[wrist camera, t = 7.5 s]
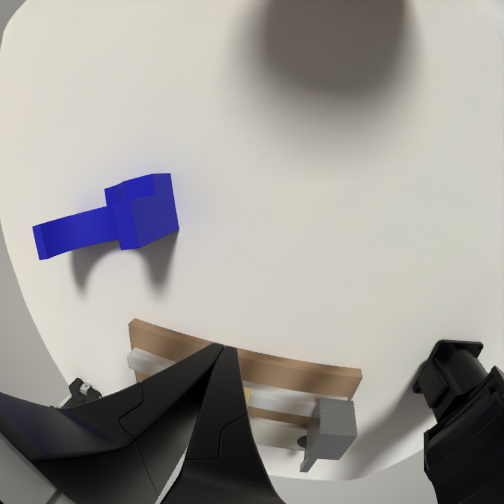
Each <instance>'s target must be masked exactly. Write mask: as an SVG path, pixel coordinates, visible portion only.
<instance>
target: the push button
mask: <svg viewBox="0 0 504 504" xmlns="http://www.w3.org/2000/svg"><path fill="white" fill-rule="evenodd" d="M69 390H70V393H71V394H70V393H69V394H68V396H67V397H66V398H65V399H64V400H63V401H62V402H61V403H60V404H59V405H58V406H57V407H56V408H69V407H73V406H77V405H80V404H83V403H86V402H90V401H93V400H96V399H99V398H101V394H100V392H98V391H96V390H95V389H93V388H92V387H90V385H89V384H87V383H84V382H82V380H81V379H80V378H76V379H75V380H74V381H73V382H72V383H71V384H70V385H69ZM50 407H53V406H50ZM53 408H55V407H53Z"/></svg>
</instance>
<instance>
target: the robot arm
mask: <svg viewBox="0 0 504 504" xmlns="http://www.w3.org/2000/svg"><path fill="white" fill-rule="evenodd" d="M442 344H443V345H442ZM441 345H442V346H441ZM482 349H483V344H482V343H481V342H470V341H455V340H440V341H439V342H438V343H437V345H436V347H435V349H434V351H433V353H432V355H431V357H430V359H429V361H428V363H427V365H426V366H425V368H424V370H423V372H422V373H421V375H420V377H419V379H418V380H417V382H416V384H415V385H414V387H413V392H414V393H416V394H422V393H423V394H424V396H425V399H426V401H427V404H428V406H429V408H432V410H433V413H434V415H435V418H436V421H437V424H436V425H435V426H433V427H432V428H431V429H430V430H429V429H428V430H427V431H426V432H425V433H424V471H425V473H426V475H427V476H428V478H429V480H430V481H431V482H432V484H433V486H434V489H435V493H436V497H437V502H438V504H504V373H503V372H502V371H501V370H500V369H499V368H498V367H497V366H494V367H493V368H492V369H491V372H490V373H489V374H488V373H487V372H486V370H485V369H484V367H483V366H482V364H481V363H480V362H479V360H478V359H477V358H478V356H479V354H480V352H481V350H482ZM188 444H189V445H188ZM187 446H188V449H187V452H186V455H185V459H184V462H183V465H182V468H181V471H180V473H179V475H178V477H177V478H176V480H175V482H174V483H173V485H172V486H171V488H170V489H169V491H168V492H167V494H166V495H165V497H164V498H163V500H162V501H161V503H160V504H286V503H284V501H283V500H282V499H281V498H280V497H279V496H278V494H277V493H276V491H275V489H274V487H273V485H272V483H271V481H270V479H269V477H268V474H267V472H266V469H265V467H264V465H263V462H262V460H261V457H260V455H259V452H258V449H257V447H256V444H255V441H254V438H253V434H252V429H251V425H250V420H249V416H248V410H247V404H246V398H245V392H244V387H243V381H242V375H241V369H240V362H239V356H238V350H237V348H235V347H231V346H224V345H223V344H219V343H215V342H214V343H211V344H209V345H208V346H206V347H204V348H202V349H201V350H199V351H197V352H195V353H193V354H191V355H190V356H188V357H186V358H184V359H182V360H180V361H179V362H177V363H175V364H173V365H171V366H169V367H167V368H165V369H164V370H162V371H160V372H158V373H156V374H154V375H152V376H150V377H148V378H146V379H144V380H142V381H141V382H138V383H136V384H134V385H132V386H130V387H128V388H125V389H123V390H121V391H119V392H116V393H113V394H111V395H108V396H105V397H102V398H99V399H96V400H93V401H90V402H86V403H83V404H80V405H77V406H73V407H69V408H53V407H48V406H44V405H40V404H36V403H33V402H29V401H26V400H22V399H19V398H15V397H12V396H9V395H7V394H4V393H1V392H0V504H155V502H156V501H157V499H158V496H159V495H160V494H161V492H162V490H163V488H164V487H165V485H166V483H167V481H168V480H169V478H170V476H171V474H172V472H173V471H174V469H175V467H176V465H177V464H178V462H179V460H180V458H181V456H182V455H183V453H184V451H185V449H186V447H187Z"/></svg>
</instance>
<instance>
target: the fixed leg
mask: <svg viewBox="0 0 504 504" xmlns="http://www.w3.org/2000/svg"><path fill="white" fill-rule="evenodd" d="M356 437H357V428H356V419H355V411H354V403H353V401H348V400H337V399H328V398H320V400H319V402H318V404H317V406H316V408H315V410H314V412H313V414H312V417H311V419H310V421H309V423H308V429H307V441H306V442H305V454H304V460H303V462H302V463H301V466H300V472H308V471H309V470H310V468H311V467H312V465H313V464H314V463H315V461H316V460H317V459H330V460H339V459H340V458H341V457H342V455H343V454H344V453H345V452H346V450H347V449H348V448H349V446H350V445H351V444H352V442H353V441H354V440H355V438H356Z"/></svg>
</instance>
